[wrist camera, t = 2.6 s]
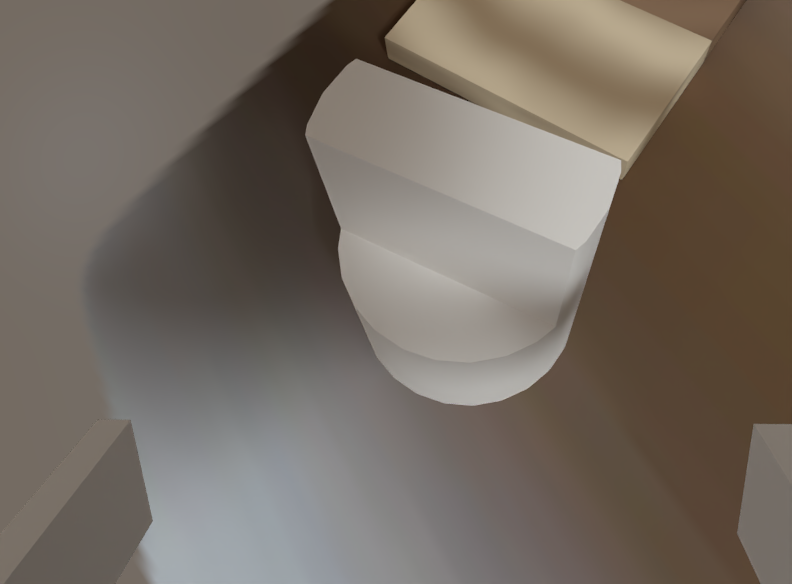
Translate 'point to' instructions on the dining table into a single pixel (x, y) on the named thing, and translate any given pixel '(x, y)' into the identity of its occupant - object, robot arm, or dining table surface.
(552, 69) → the pine board
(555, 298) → the base with upright slab
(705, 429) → the dining table surface
